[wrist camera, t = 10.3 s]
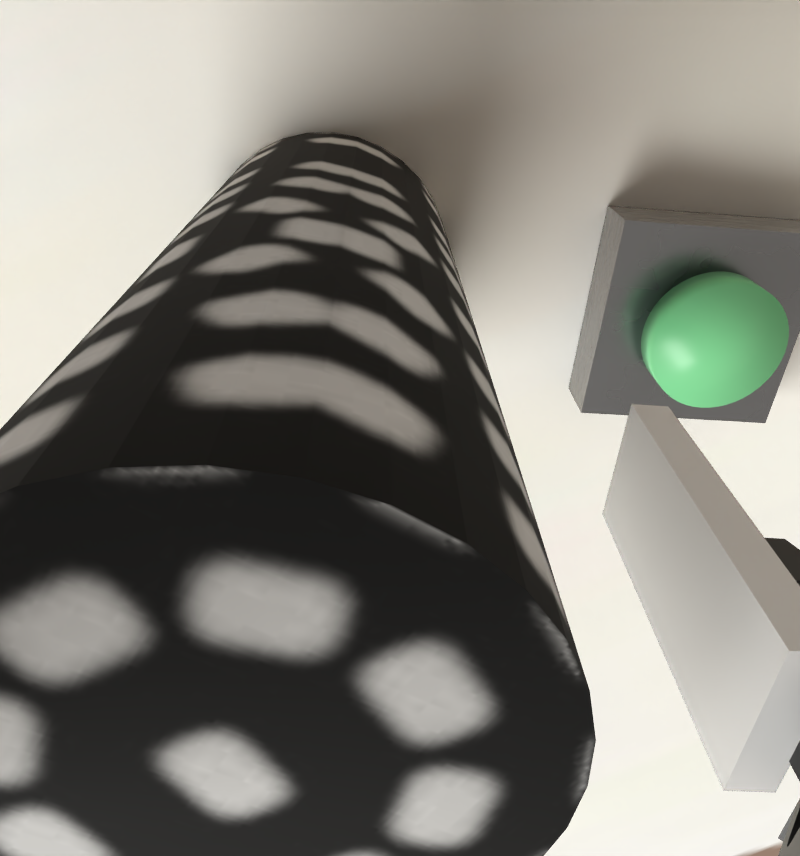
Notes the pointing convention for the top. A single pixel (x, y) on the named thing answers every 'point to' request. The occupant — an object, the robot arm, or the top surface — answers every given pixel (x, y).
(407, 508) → the spotted tube
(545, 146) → the top surface
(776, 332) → the button
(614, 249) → the button housing
